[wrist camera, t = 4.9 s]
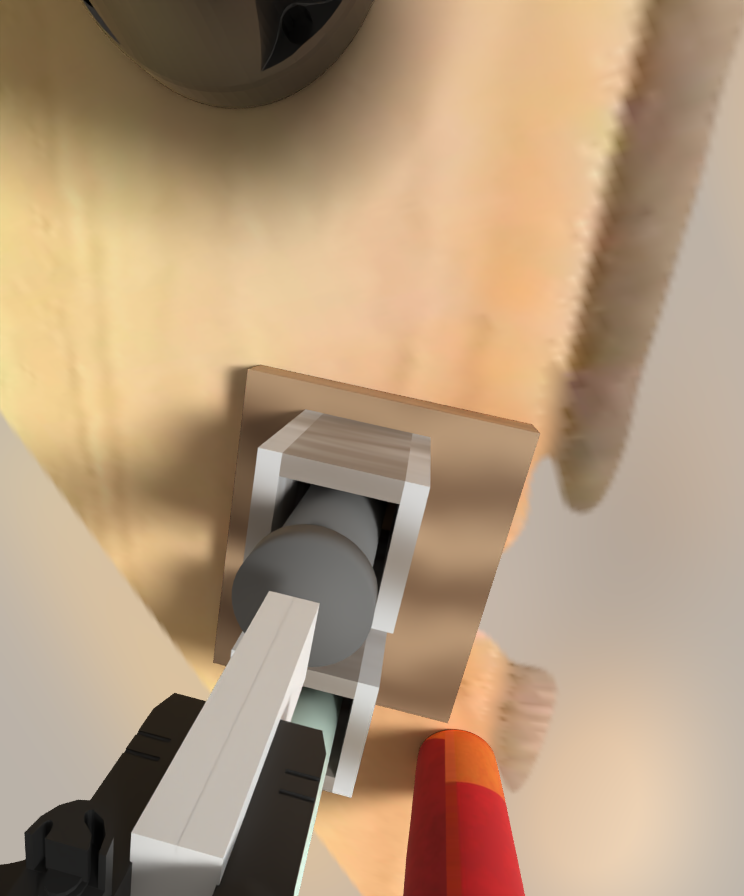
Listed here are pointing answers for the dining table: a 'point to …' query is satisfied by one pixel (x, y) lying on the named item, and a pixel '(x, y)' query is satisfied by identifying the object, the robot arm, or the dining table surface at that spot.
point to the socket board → (383, 531)
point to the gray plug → (319, 569)
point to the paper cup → (459, 822)
